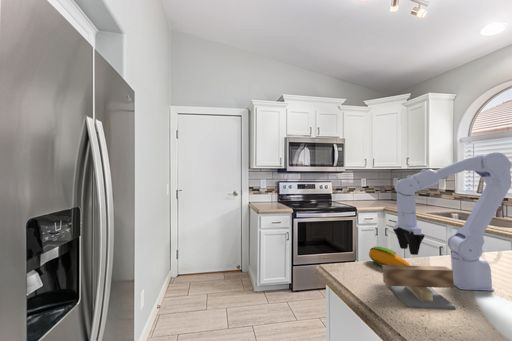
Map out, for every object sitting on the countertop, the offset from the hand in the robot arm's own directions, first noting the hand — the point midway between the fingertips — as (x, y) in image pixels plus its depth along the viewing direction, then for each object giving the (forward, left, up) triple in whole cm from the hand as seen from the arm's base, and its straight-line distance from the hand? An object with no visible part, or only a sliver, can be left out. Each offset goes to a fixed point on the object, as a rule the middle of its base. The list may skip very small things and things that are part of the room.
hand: (408, 251), depth 88 cm
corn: (+2, -14, -10) cm, 17 cm away
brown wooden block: (+4, +13, -6) cm, 15 cm away
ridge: (+3, +13, -10) cm, 17 cm away
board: (+3, +13, -10) cm, 17 cm away
